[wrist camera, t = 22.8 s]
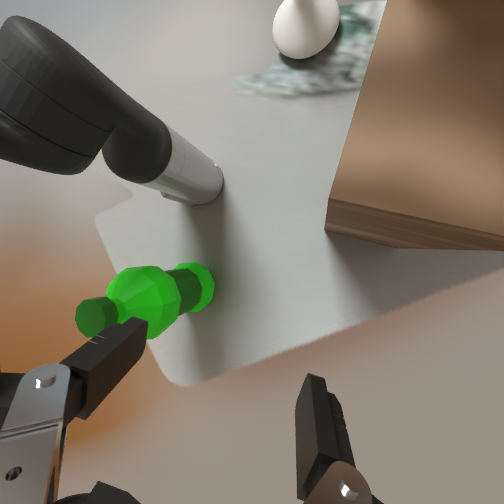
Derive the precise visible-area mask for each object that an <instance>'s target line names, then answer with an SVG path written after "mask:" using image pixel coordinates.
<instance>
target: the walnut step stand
mask: <svg viewBox="0 0 504 504" xmlns="http://www.w3.org/2000/svg"><path fill="white" fill-rule="evenodd" d="M324 230H328V231H332V232H336V233H339V234H343V235H347V236H351V237H355V238H359V239H363V240H367V241H371V242H375V243H379V244H383V245H387V246H391V247H395V248H416V249H455V250H495V251H504V0H387V3H386V7H385V10H384V13H383V17H382V20H381V24H380V27H379V30H378V34H377V37H376V40H375V44H374V47H373V50H372V54H371V57H370V61H369V64H368V67H367V71H366V74H365V77H364V81H363V84H362V87H361V91H360V94H359V98H358V101H357V104H356V108H355V111H354V114H353V118H352V121H351V124H350V128H349V131H348V135H347V138H346V141H345V145H344V148H343V151H342V155H341V158H340V161H339V165H338V168H337V172H336V175H335V178H334V182H333V185H332V188H331V192H330V195H329V199H328V207H327V214H326V221H325V228H324Z"/></svg>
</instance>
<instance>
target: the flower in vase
mask: <svg viewBox="0 0 504 504" xmlns="http://www.w3.org/2000/svg"><path fill="white" fill-rule="evenodd" d="M339 20H340V11H339V6H338V4H337V1H336V0H285V1H284V2H283V3H282V4H281V6H280V7H279V9H278V11H277V13H276V16H275V19H274V23H273V32H272V34H273V40H274V43H275V45H276V47H277V49H278V50H279V51H280V52H281V53H282V54H284V55H285V56H288V57H290V58H295V59H303V58H307V57H311V56H313V55H315V54H317V53H318V52H320V51H321V50H322V49H323V48H324V47H325V46H327V44H328V43H329V42H330V41H331V40H332V38H333V37H334V35H335V33H336V31H337V28H338V25H339Z"/></svg>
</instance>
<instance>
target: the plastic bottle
mask: <svg viewBox="0 0 504 504" xmlns="http://www.w3.org/2000/svg"><path fill="white" fill-rule="evenodd" d="M214 288H215V283H214V281H213V278H212V275H211V273H210V271H209V270H207V269H206V268H204V267H203V266H201V265H200V264H198V263H197V262H194V263H182V264H179V265H178V266H177V267H176V268H175V269H174V270H168V271H163V270H162V269H160V268H159V267H156V266H143V267H132V268H126V269H125V270H123V271H122V272H120V274H119V275H118V276H117V277H116V278H115V279H114V280H113V281H112V282H111V283H110V284H109V285H108V288H107V295H106V297H96V298H91V299H87V300H83V301H82V302H81V304H80V305H79V306H78V307H77V310H76V316H75V321H76V324H77V326H78V329H79V331H80V332H81V333H83V334H84V335H85V336H86V337H94V336H97V334H98V333H100V332H101V331H102V330H104V329H105V328H106V327H109V326H112V325H114V324H117V323H120V324H123V323H124V322H126V321H127V320H128V319H129V318H131V317H132V316H134V317H137V318H140V319H144V320H147V321H148V331H147V338H146V339H154V338H156V337H157V336H159V335H160V334H161V333H162V332H163V331H165V330H166V329H167V328H168V327H169V326H170V325H171V324H172V323H173V322H174V321H175V320H176V319H177V318H178V316H179V315H182V314H184V313H186V312H199V311H201V310H202V309H203V308H204V307H205V306H207V305H208V304H209V303H210V302H211V301H212V298H213V293H214Z"/></svg>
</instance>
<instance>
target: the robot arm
mask: <svg viewBox="0 0 504 504" xmlns="http://www.w3.org/2000/svg"><path fill="white" fill-rule="evenodd" d="M101 148H102V154H103V157H104V160H105V162H106V164H107V166H108V167H109V168H110V170H111V171H112V172H113V173H115V174H116V175H117V176H119V177H121V178H123V179H125V180H128V181H131V182H134V183H137V184H140V185H143V186H146V187H149V188H152V189H155V190H158V191H160V192H161V194H162V196H163V197H164V198H167V199H171V200H174V201H177V202H180V203H184V204H187V205H190V206H193V205H194V204H207V203H209V202H211V201H213V200H214V199H215V198H216V197H217V196H218V195H219V193H220V191H221V189H222V185H223V175H222V172H221V169H220V168H219V166H218V165H217V164H216V163H215V162H214V161H213V160H211V159H210V158H209V157H207V156H206V155H205V154H204V153H202V152H201V151H200V150H198V149H197V148H196V147H195V146H193V145H192V144H191V143H189V142H188V141H187V140H186V139H184V138H183V137H182V136H180V135H179V134H178V133H177V132H175V131H174V130H173V129H171V128H170V127H169V126H168V125H166V124H165V123H164V122H162V121H161V120H160V119H159V118H157V117H156V116H155V115H153V114H152V113H151V112H149V111H148V110H147V109H145V108H144V107H143V106H141V105H140V104H139V103H137V102H136V101H135V100H134V99H132V98H131V97H130V96H129V95H127V94H126V93H125V92H124V91H123V90H122V89H120V88H119V87H118V86H117V85H116V84H115V83H113V82H112V81H111V80H110V79H109V78H108V77H107V76H105V75H104V74H103V73H102V72H101V71H100V70H99V69H98V68H96V67H95V66H94V65H93V64H92V63H91V62H90V61H89V60H87V59H86V58H85V57H84V56H83V55H81V54H80V53H79V52H78V51H76V50H75V49H74V48H73V47H72V46H71V45H69V44H68V43H67V42H66V41H64V40H63V39H61V38H60V37H59V36H57V35H56V34H55V33H53V32H52V31H50V30H49V29H47V28H46V27H44V26H42V25H41V24H39V23H37V22H35V21H33V20H30V19H27V18H25V17H21V16H11V17H9V18H8V19H7V20H6V21H5V22H4V24H3V25H2V27H1V29H0V159H3V160H6V161H9V162H13V163H16V164H19V165H23V166H26V167H30V168H33V169H37V170H41V171H45V172H50V173H55V174H61V175H74V174H78V173H81V172H83V171H84V170H85V169H86V168H87V167H88V166H89V165H90V164H91V163H92V161H93V160H94V159H95V157H96V155H97V154H98V152H99V151H100V149H101ZM147 331H148V321H147V320H144V319H140V318H137V317H134V316H132V317H131V318H129V319H128V320H127V321H126V322H124V323H123V324H120V323H117V324H114V325H112V326H109V327H106V328H105V329H104V330H102V331H101V332H100V333H98V334H97V336H94V337H93V338H92V339H91V340H90V341H89V342H87V343H85V344H84V345H83V346H81V347H80V348H79V349H77V350H76V351H75V352H73V353H72V354H71V355H69V356H68V357H67V358H65V359H64V360H63V361H61V362H60V363H52V364H46V365H42V366H39V367H37V368H34V369H33V370H31V371H29V372H28V373H26V374H24V373H22V374H21V373H1V372H0V504H141V503H139V502H138V501H137V500H136V499H135V498H134V497H133V496H132V495H130V494H129V493H128V492H126V491H123V490H121V489H118V488H116V487H113V486H110V485H108V484H105V483H102V482H100V481H98V482H97V484H96V485H95V486H94V488H93V489H92V492H91V493H83V494H76V495H72V496H68V497H65V498H63V499H60V500H57V498H58V488H59V480H60V473H61V467H62V461H63V454H64V448H65V442H66V435H67V429H68V424H69V423H70V422H71V421H72V420H73V419H74V418H75V417H78V418H81V419H83V420H86V419H87V418H88V417H89V416H90V414H91V413H92V412H93V411H94V410H95V409H96V408H97V406H98V405H99V404H100V403H101V402H102V401H103V400H104V399H105V397H106V396H107V395H108V394H109V393H110V392H111V391H112V390H113V388H114V387H115V386H116V385H117V384H118V383H119V382H120V381H121V379H122V378H123V377H124V376H125V375H126V374H127V372H129V370H130V369H131V368H132V367H133V366H134V365H135V364H136V362H137V361H138V360H139V359H140V357H141V356H142V354H143V352H144V349H145V344H146V338H147ZM343 418H344V416H343V412H342V408H341V405H340V403H339V401H338V400H337V398H336V396H335V395H334V394H332V393H329V392H327V387H326V382H325V379H324V378H322V377H319V376H316V375H313V374H310V373H308V374H307V376H306V378H305V380H304V383H303V386H302V388H301V391H300V394H299V396H298V399H297V403H296V409H295V426H296V468H297V498H298V499H300V500H303V501H305V502H304V503H303V504H384V503H382V502H381V501H379V500H378V499H377V498H376V497H375V496H373V495H372V494H371V491H370V488H369V486H368V484H367V482H366V480H365V479H364V477H363V476H362V475H361V473H360V472H359V471H358V470H357V469H356V467H355V463H354V458H353V454H352V450H351V446H350V442H349V437H348V433H347V429H346V424H345V420H344V419H343Z"/></svg>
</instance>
